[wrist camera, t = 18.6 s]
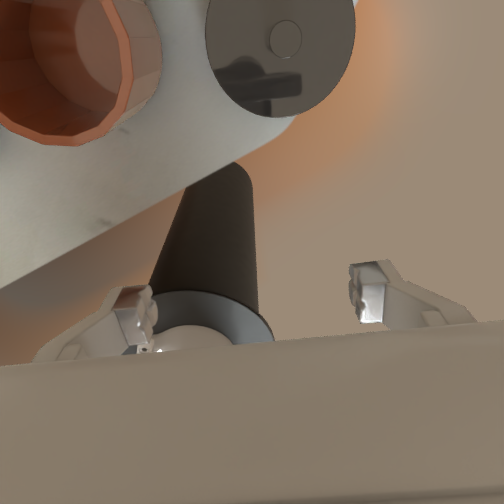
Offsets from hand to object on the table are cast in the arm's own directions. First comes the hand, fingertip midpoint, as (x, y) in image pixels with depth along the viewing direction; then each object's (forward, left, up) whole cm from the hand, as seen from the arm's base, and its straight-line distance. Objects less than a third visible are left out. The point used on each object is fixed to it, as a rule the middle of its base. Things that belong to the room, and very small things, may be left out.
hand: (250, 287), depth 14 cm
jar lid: (+9, +1, -26) cm, 28 cm away
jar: (+1, +16, -27) cm, 31 cm away
